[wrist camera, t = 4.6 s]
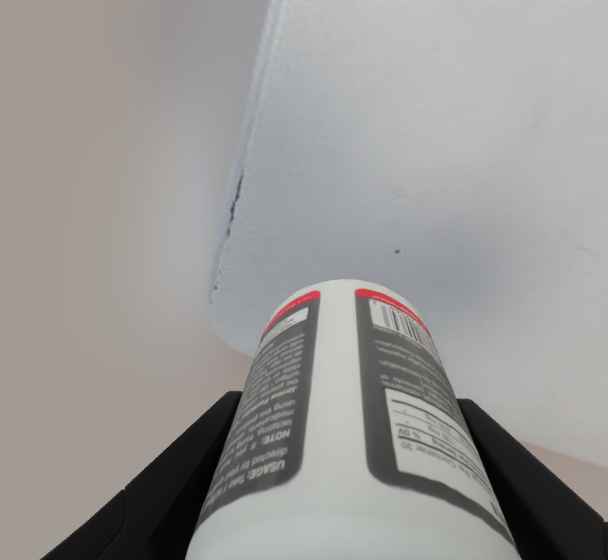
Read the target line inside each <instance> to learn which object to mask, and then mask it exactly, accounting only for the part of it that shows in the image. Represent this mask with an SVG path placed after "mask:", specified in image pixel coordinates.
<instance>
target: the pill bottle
mask: <svg viewBox="0 0 608 560" xmlns="http://www.w3.org/2000/svg"><path fill="white" fill-rule="evenodd" d="M185 560H522V558H521V556H520V554H519V552H518V550H517V548H516V545H515V543H514V540H513V537H512V535H511V533H510V531H509V528H508V526H507V523H506V521H505V518H504V516H503V513H502V511H501V508H500V506H499V503H498V500H497V498H496V496H495V494H494V492H493V489H492V486H491V484H490V482H489V479H488V477H487V474H486V472H485V469H484V467H483V464H482V462H481V459H480V457H479V454H478V451H477V449H476V447H475V445H474V443H473V440H472V437H471V435H470V433H469V430H468V428H467V425H466V422H465V420H464V417H463V415H462V412H461V410H460V407H459V405H458V403H457V400H456V397H455V394H454V392H453V389H452V387H451V385H450V382H449V380H448V378H447V375H446V373H445V370H444V368H443V365H442V363H441V360H440V357H439V355H438V351H437V349H436V347H435V345H434V342H433V340H432V338H431V336H430V334H429V331H428V329H427V327H426V325H425V323H424V321H423V319H422V318H421V316H420V315H419V313H418V312H417V311H416V310H415V309H414V307H413V306H412V305H411V304H410V303H409V302H408V301H406V300H405V299H404V298H402V297H401V296H399V295H398V294H396V293H395V292H393V291H391V290H389V289H387V288H385V287H383V286H381V285H378V284H374V283H371V282H368V281H363V280H354V279H339V280H330V281H324V282H320V283H317V284H314V285H311V286H308V287H306V288H303V289H301V290H299V291H297V292H296V293H294V294H293V295H292V296H290V297H289V298H288V299H287V300H286V301H284V302H283V303H282V304H281V305H280V306H279V307H278V308H277V310H276V311H275V312H274V314H273V315H272V317H271V318H270V320H269V322H268V324H267V326H266V328H265V330H264V333H263V336H262V338H261V341H260V344H259V346H258V349H257V351H256V354H255V357H254V361H253V364H252V366H251V369H250V372H249V375H248V378H247V381H246V384H245V387H244V391H243V393H242V396H241V399H240V402H239V405H238V408H237V411H236V414H235V417H234V420H233V423H232V426H231V429H230V432H229V434H228V437H227V440H226V442H225V446H224V449H223V452H222V454H221V457H220V460H219V463H218V465H217V468H216V471H215V474H214V476H213V480H212V483H211V486H210V488H209V491H208V494H207V496H206V499H205V501H204V504H203V506H202V509H201V513H200V516H199V519H198V522H197V524H196V527H195V530H194V533H193V535H192V538H191V541H190V545H189V548H188V551H187V555H186V558H185Z"/></svg>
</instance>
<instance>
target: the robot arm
mask: <svg viewBox="0 0 608 560" xmlns="http://www.w3.org/2000/svg"><path fill="white" fill-rule="evenodd" d="M242 393H243V392H242V391H229V392H227V393H226V394H225V395H224V396H223V397H222V398H220V399H219V400H218V401H217V402H216V403H215V404H214V405H213V406H212V407H211V408H210V409H209V410H208V411H206V412H205V413H204V414H203V415H202V416H201V417H200V418H199V419H198V420H197V421H196V422H195V423H194V424H192V425H191V426H190V427H189V428H188V429H187V430H186V431H185V432H184V433H183V434H182V435H181V436H179V437H178V438H177V439H176V440H175V441H174V442H173V443H172V444H171V445H170V446H169V447H168V448H167V449H165V450H164V451H163V452H162V453H161V454H160V455H159V456H158V457H157V458H156V459H155V460H154V461H153V462H152V463H150V464H149V465H148V466H147V467H146V468H145V469H144V470H143V471H142V472H141V473H139V474H138V475H137V476H136V477H135V478H134V479H133V480H132V481H131V482H130V483H129V484H128V485H127V486H126V487H125V490H121V491H120V492H119V493H118V494H117V495H116V496H114V497H113V498H112V499H111V500H110V501H109V502H108V503H107V504H106V505H105V506H103V507H102V508H101V509H100V510H99V511H98V512H97V513H96V514H95V515H94V516H92V517H91V518H90V519H89V520H88V521H87V522H86V523H84V524H83V525H82V526H81V527H79V528H78V529H77V530H76V531H75V532H74V533H72V534H71V535H70V536H69V537H67V539H65V540H64V541H63V542H61V543H60V544H59V545H58V546H56V547H55V548H54V549H53V550H51V551H50V552H49V553H48V554H46V555H45V556H44V557H43V558H41V559H40V560H185V558H186V555H187V551H188V548H189V545H190V541H191V538H192V535H193V533H194V530H195V527H196V524H197V522H198V519H199V516H200V513H201V509H202V506H203V504H204V501H205V499H206V496H207V494H208V491H209V488H210V486H211V483H212V480H213V476H214V474H215V471H216V468H217V465H218V463H219V460H220V457H221V454H222V452H223V449H224V446H225V442H226V440H227V437H228V434H229V432H230V429H231V426H232V423H233V420H234V417H235V414H236V411H237V408H238V405H239V402H240V399H241V396H242ZM456 400H457V403H458V405H459V407H460V410H461V412H462V415H463V417H464V420H465V422H466V425H467V428H468V430H469V433H470V435H471V437H472V440H473V443H474V445H475V447H476V449H477V451H478V454H479V457H480V459H481V462H482V464H483V467H484V469H485V472H486V474H487V477H488V479H489V482H490V484H491V486H492V489H493V492H494V494H495V496H496V498H497V500H498V503H499V506H500V508H501V511H502V513H503V516H504V518H505V521H506V523H507V526H508V528H509V531H510V533H511V535H512V537H513V540H514V543H515V545H516V548H517V550H518V552H519V554H520V556H521V558H522V560H608V522H604V519H603V518H602V517H601V516H600V515H599V514H598V513H597V512H596V511H595V510H594V509H592V508H591V507H590V506H589V505H588V504H587V503H586V502H585V501H584V500H582V499H581V498H580V497H579V496H578V495H577V494H576V493H574V491H572V490H571V489H570V488H569V487H568V486H567V485H566V484H564V483H563V482H562V481H561V480H560V479H559V478H558V477H557V476H556V475H555V474H554V473H552V472H551V471H550V470H549V469H548V468H547V467H546V466H545V465H544V464H542V463H541V462H540V461H539V460H538V459H537V458H536V457H535V456H533V455H532V454H531V453H530V452H529V451H528V450H527V449H526V448H525V447H523V446H522V445H521V444H520V443H519V442H518V441H517V440H516V439H515V438H514V437H512V436H511V435H510V434H509V433H508V432H507V431H506V430H505V429H504V428H502V427H501V426H500V425H499V424H498V423H497V422H496V421H495V420H494V419H492V418H491V417H490V416H489V415H488V414H487V413H486V412H485V411H484V410H482V409H481V408H480V407H479V406H478V405H477V404H476V403H475V402H474V401H472V400H470V399H458V398H456Z"/></svg>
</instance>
